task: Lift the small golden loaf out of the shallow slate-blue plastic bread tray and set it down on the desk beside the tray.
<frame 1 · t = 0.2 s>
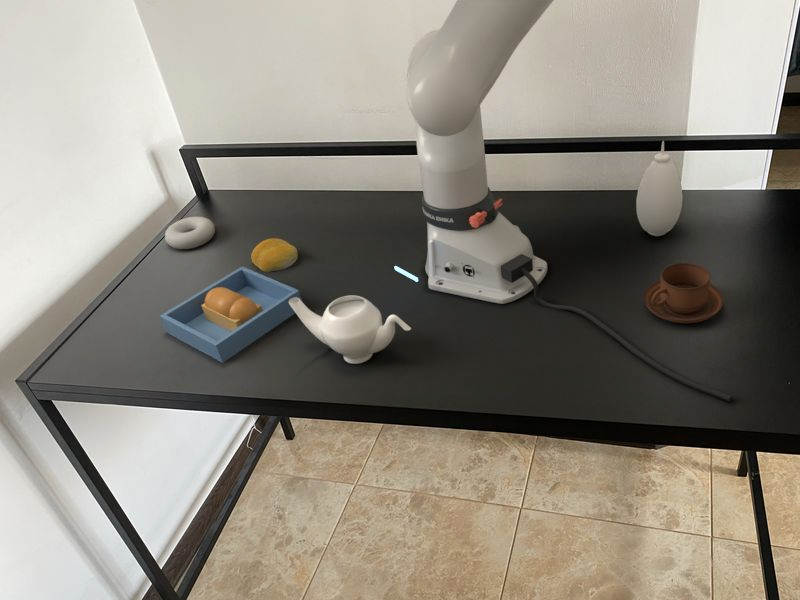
loaf: (235, 319, 128), point 1 cm above the table, touching bread tray
teapot: (358, 354, 118), on the table
bread roll: (276, 262, 144), on the table
bread tray: (236, 322, 129), on the table
donut: (193, 240, 154), on the table
cup and saucer: (682, 308, 119), on the table
white air blower bulb: (657, 234, 138), on the table
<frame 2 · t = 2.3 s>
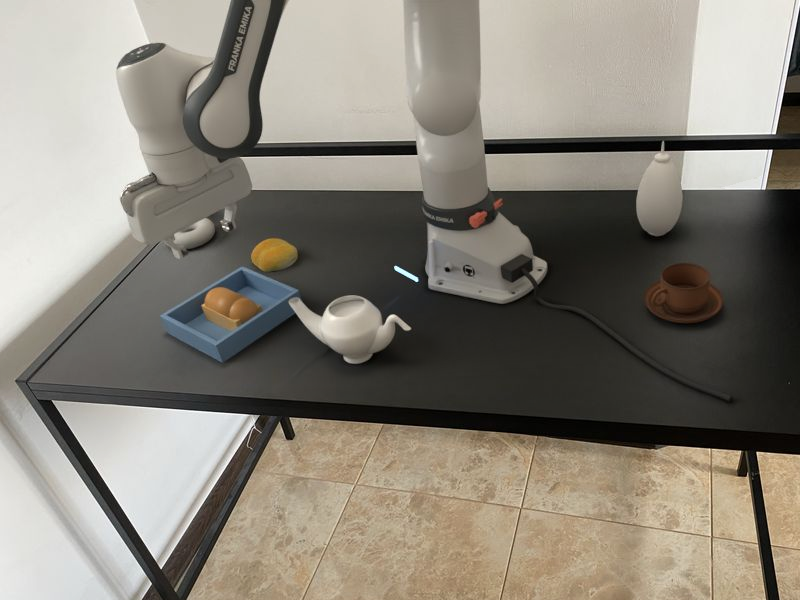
hand: (206, 242, 119), 16 cm above the table, tool pointing down, fingers open, 8 cm apart
nothing on the table moved.
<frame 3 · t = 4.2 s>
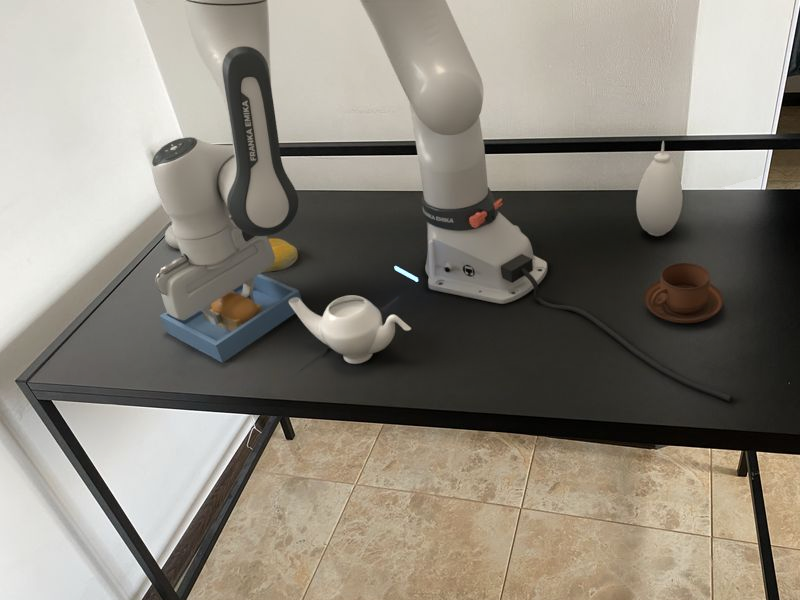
hand: (233, 312, 127), 2 cm above the table, tool pointing down, fingers closed on loaf, 5 cm apart
loaf: (235, 319, 128), point 1 cm above the table, touching bread tray, gripper
everything else where it was.
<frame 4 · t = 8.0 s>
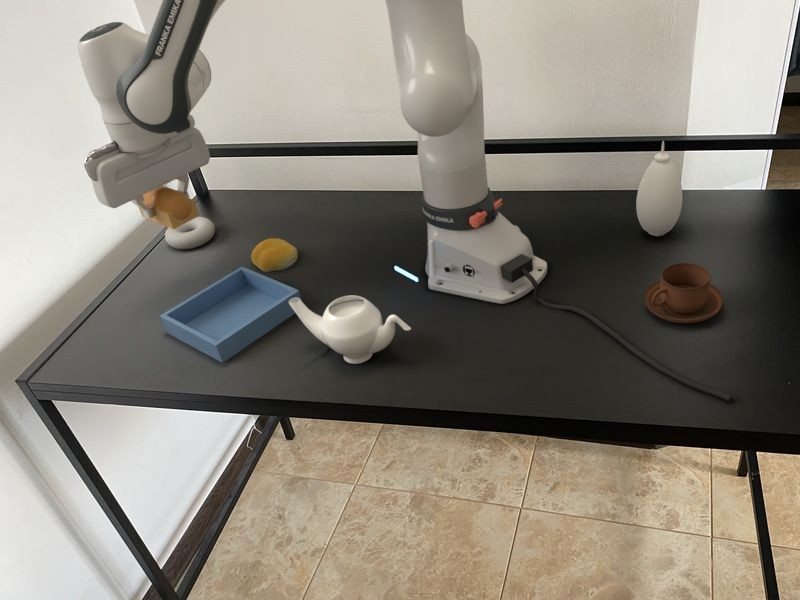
hand: (167, 208, 129), 16 cm above the table, tool pointing down, fingers closed on loaf, 5 cm apart
loaf: (170, 216, 130), point 15 cm above the table, touching gripper
everything else where it was.
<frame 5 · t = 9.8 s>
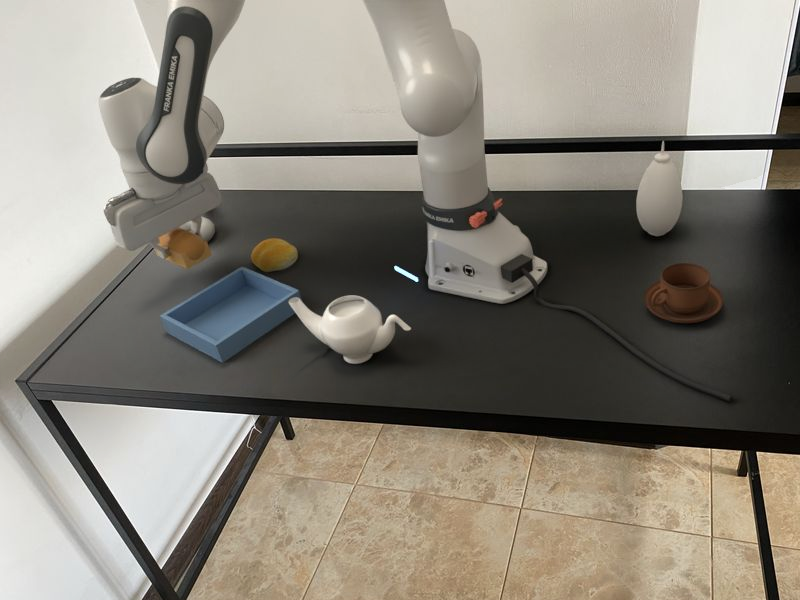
hand: (181, 248, 136), 8 cm above the table, tool pointing down, fingers closed on loaf, 5 cm apart
loaf: (184, 255, 137), point 6 cm above the table, touching gripper
everything else where it was.
when the fingers open (1 cm above the table, at t = 11.7 s): loaf stays where it is, on the table.
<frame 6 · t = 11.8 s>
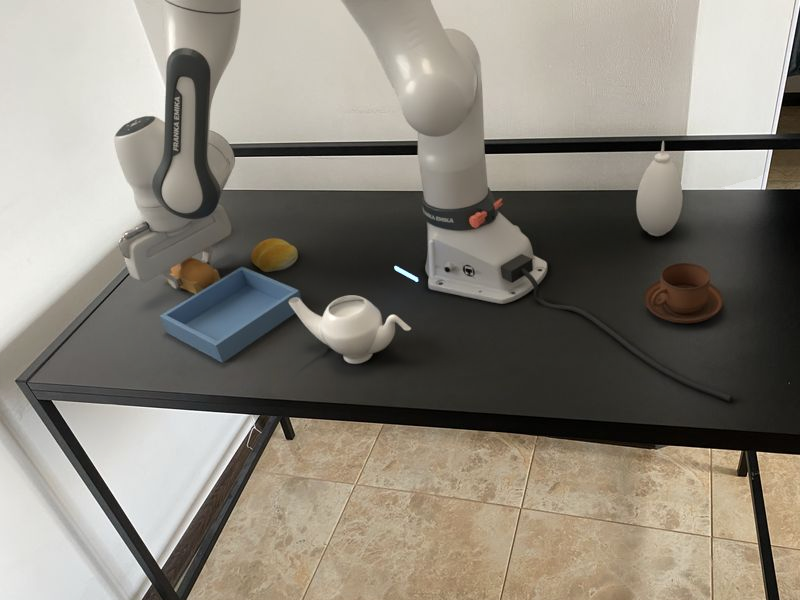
hand: (192, 277, 140), 1 cm above the table, tool pointing down, fingers open, 5 cm apart
loaf: (195, 283, 140), on the table
everything else where it was.
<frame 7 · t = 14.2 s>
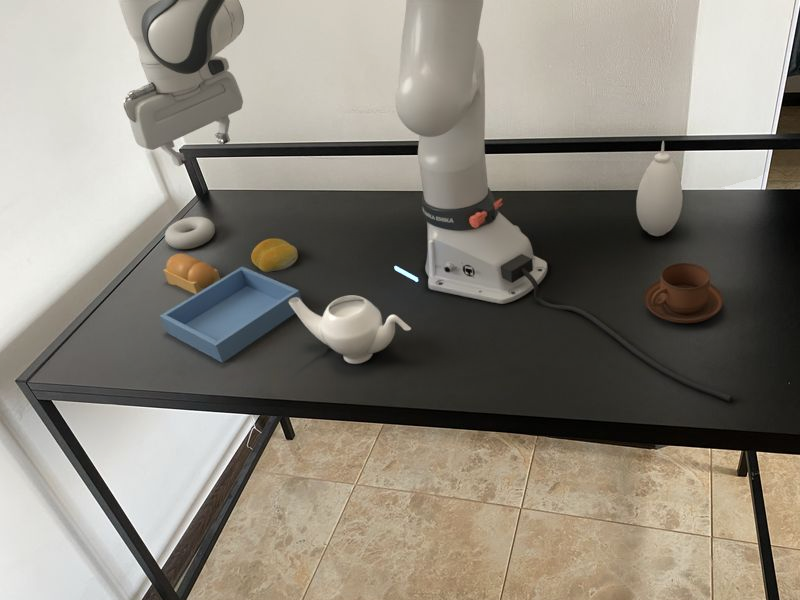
hand: (203, 153, 131), 23 cm above the table, tool pointing down, fingers open, 8 cm apart
nothing on the table moved.
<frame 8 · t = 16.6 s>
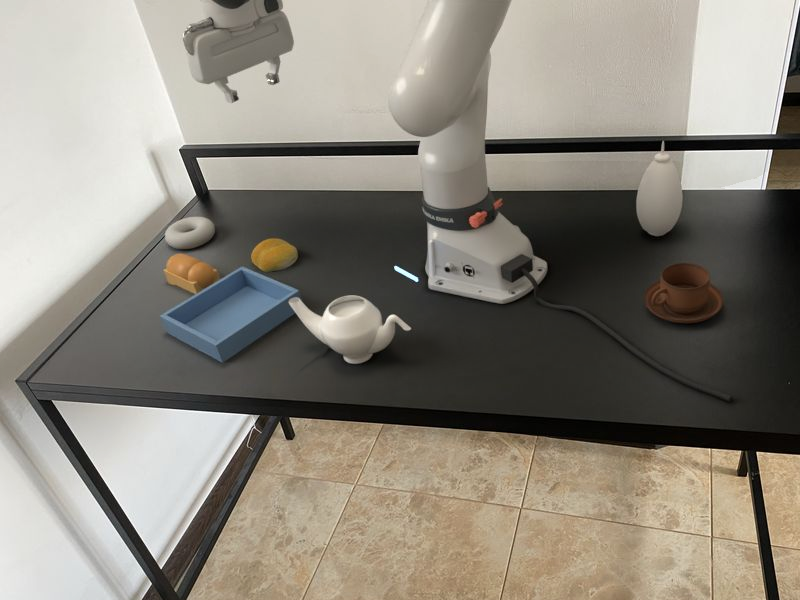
hand: (254, 92, 133), 29 cm above the table, tool pointing down, fingers open, 8 cm apart
nothing on the table moved.
at the end: loaf inside the target area (0.1 cm from its centre), on the table; loaf tilted 0°; the gripper is holding nothing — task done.
